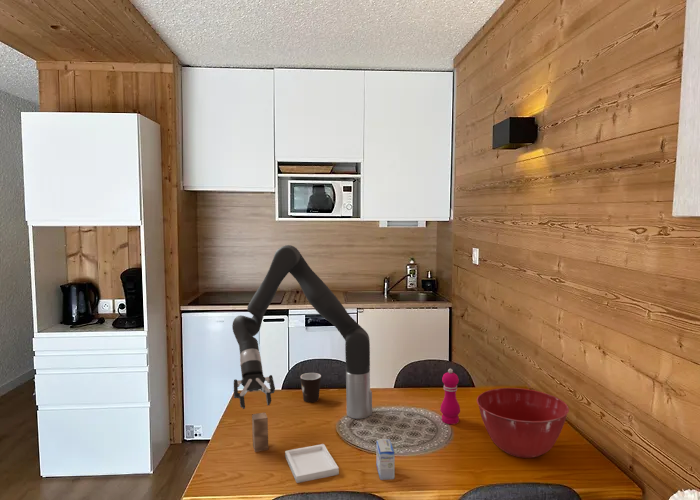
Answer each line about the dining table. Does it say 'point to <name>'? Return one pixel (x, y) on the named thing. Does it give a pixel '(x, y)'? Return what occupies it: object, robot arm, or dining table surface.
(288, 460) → the tray
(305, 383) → the coffee mug
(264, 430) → the brown wooden block
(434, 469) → the dining table surface
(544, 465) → the dining table surface
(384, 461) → the medicine box
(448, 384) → the pepper mill
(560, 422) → the mixing bowl
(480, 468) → the dining table surface
